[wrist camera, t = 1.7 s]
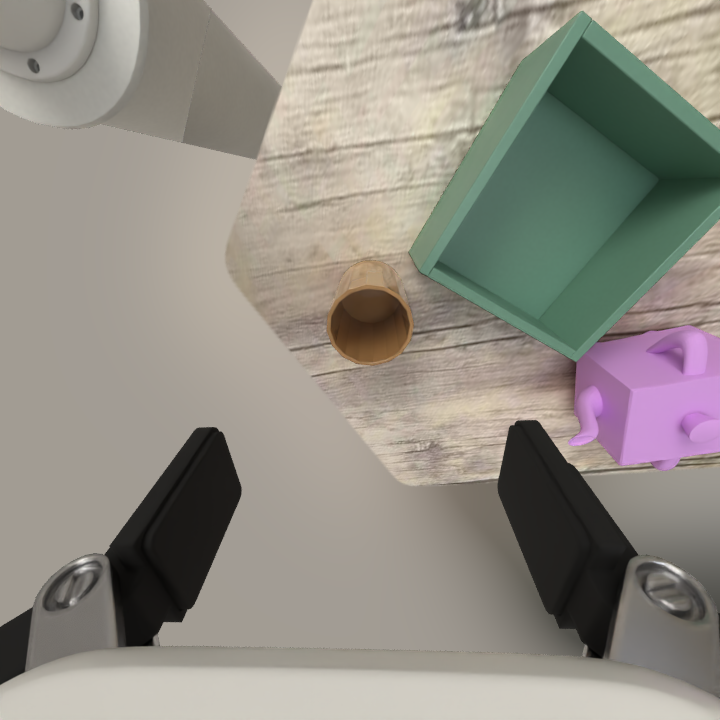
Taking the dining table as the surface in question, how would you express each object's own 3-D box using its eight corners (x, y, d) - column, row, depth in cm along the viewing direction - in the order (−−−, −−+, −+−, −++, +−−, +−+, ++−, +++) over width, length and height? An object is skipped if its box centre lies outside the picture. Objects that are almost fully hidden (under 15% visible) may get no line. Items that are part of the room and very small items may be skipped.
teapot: (645, 274, 31) (768, 315, 21) (723, 346, 34) (860, 410, 24) (522, 384, 37) (574, 453, 27) (597, 436, 40) (668, 514, 31)
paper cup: (327, 305, 33) (313, 342, 25) (357, 247, 30) (351, 268, 23) (382, 334, 35) (385, 377, 27) (416, 280, 32) (430, 311, 24)
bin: (408, 252, 30) (418, 271, 24) (521, 60, 24) (582, 9, 17) (534, 326, 34) (576, 362, 27) (667, 175, 27) (768, 171, 20)
